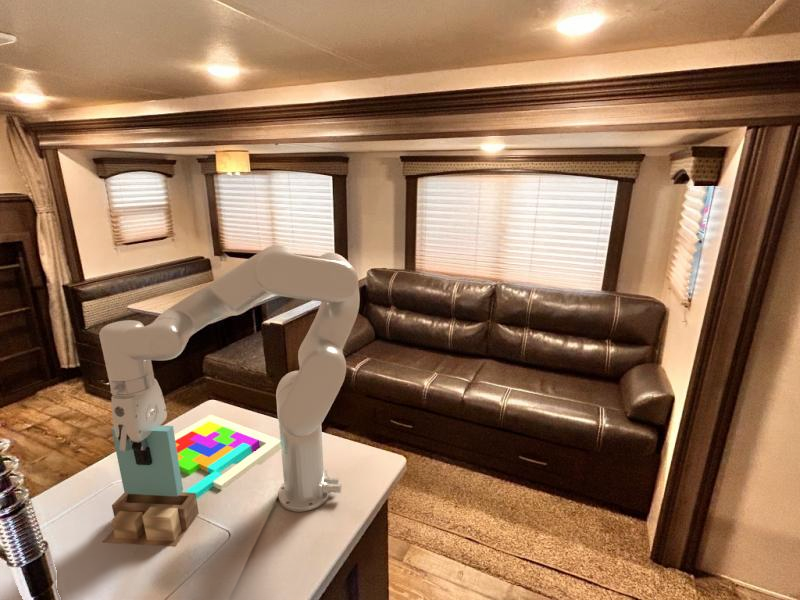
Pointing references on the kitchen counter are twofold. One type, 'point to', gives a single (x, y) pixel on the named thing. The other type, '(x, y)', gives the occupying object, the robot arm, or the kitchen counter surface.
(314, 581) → the kitchen counter surface
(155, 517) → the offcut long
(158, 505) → the rack
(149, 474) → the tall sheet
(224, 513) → the kitchen counter surface
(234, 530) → the kitchen counter surface
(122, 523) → the offcut short
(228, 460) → the puzzle game
